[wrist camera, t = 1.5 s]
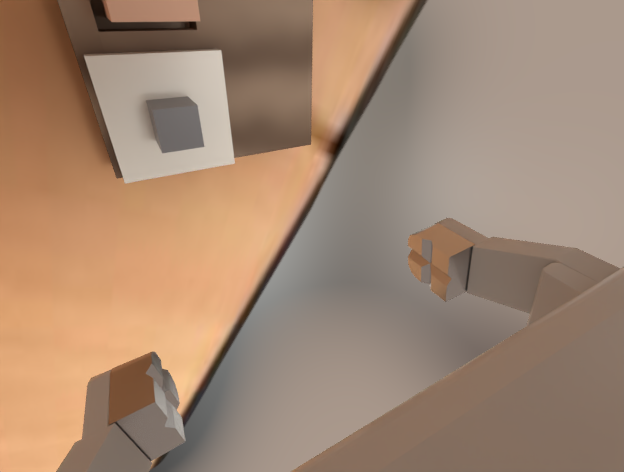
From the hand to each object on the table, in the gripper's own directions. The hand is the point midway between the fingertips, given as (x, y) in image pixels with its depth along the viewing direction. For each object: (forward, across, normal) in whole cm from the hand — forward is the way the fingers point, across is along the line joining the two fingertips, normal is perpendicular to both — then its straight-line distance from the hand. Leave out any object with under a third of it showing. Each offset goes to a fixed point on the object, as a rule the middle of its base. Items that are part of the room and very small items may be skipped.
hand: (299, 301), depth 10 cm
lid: (+23, +1, -2) cm, 23 cm away
